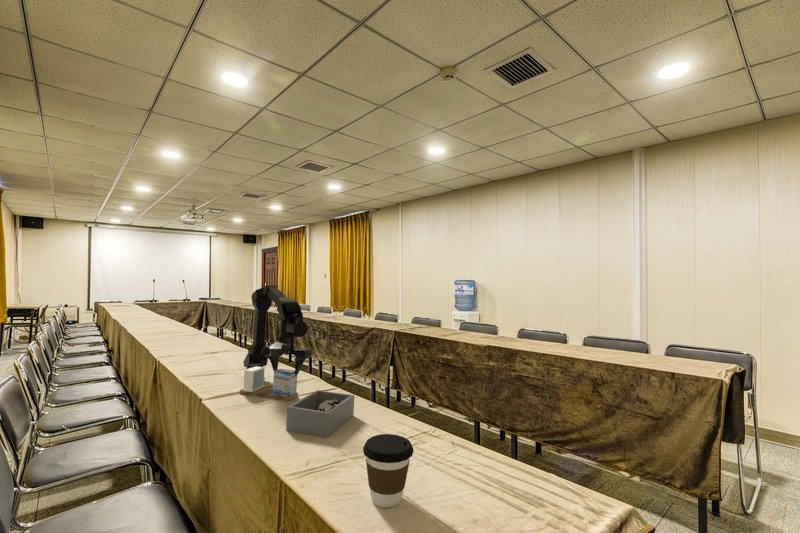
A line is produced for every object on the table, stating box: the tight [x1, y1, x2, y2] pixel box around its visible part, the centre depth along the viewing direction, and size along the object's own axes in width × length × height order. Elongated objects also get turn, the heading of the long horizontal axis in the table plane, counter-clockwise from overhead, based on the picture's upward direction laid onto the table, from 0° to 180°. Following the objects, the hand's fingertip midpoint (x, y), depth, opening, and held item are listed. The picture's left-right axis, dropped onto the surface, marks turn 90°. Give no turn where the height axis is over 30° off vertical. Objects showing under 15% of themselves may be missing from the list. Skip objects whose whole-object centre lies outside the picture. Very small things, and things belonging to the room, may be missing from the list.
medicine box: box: [272, 368, 298, 396], centre depth 147 cm, size 8×4×9 cm, turn 73°
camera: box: [313, 399, 342, 412], centre depth 120 cm, size 13×8×9 cm, turn 160°
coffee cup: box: [362, 433, 414, 509], centre depth 82 cm, size 11×11×12 cm
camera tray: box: [285, 389, 355, 438], centre depth 123 cm, size 14×19×7 cm
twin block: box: [243, 366, 266, 392], centre depth 150 cm, size 4×7×8 cm, turn 164°
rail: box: [239, 387, 299, 402], centre depth 148 cm, size 22×6×2 cm, turn 74°
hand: (285, 374), depth 146 cm, fingers open, 9 cm apart
